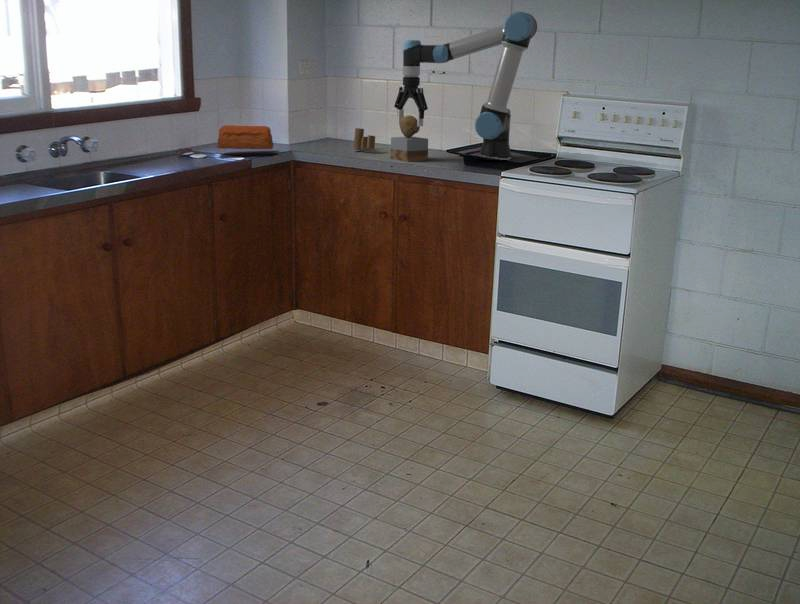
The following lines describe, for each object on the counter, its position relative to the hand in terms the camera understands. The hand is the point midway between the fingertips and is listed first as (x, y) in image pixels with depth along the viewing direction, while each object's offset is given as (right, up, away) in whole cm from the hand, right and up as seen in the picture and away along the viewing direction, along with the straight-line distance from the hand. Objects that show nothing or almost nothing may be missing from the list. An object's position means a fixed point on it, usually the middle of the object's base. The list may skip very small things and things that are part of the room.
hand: (410, 125), depth 395 cm
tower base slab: (-1, -15, +5) cm, 16 cm away
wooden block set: (-23, -5, +35) cm, 42 cm away
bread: (-80, -4, +35) cm, 88 cm away
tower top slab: (0, -10, +3) cm, 11 cm away
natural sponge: (0, -6, +2) cm, 6 cm away
